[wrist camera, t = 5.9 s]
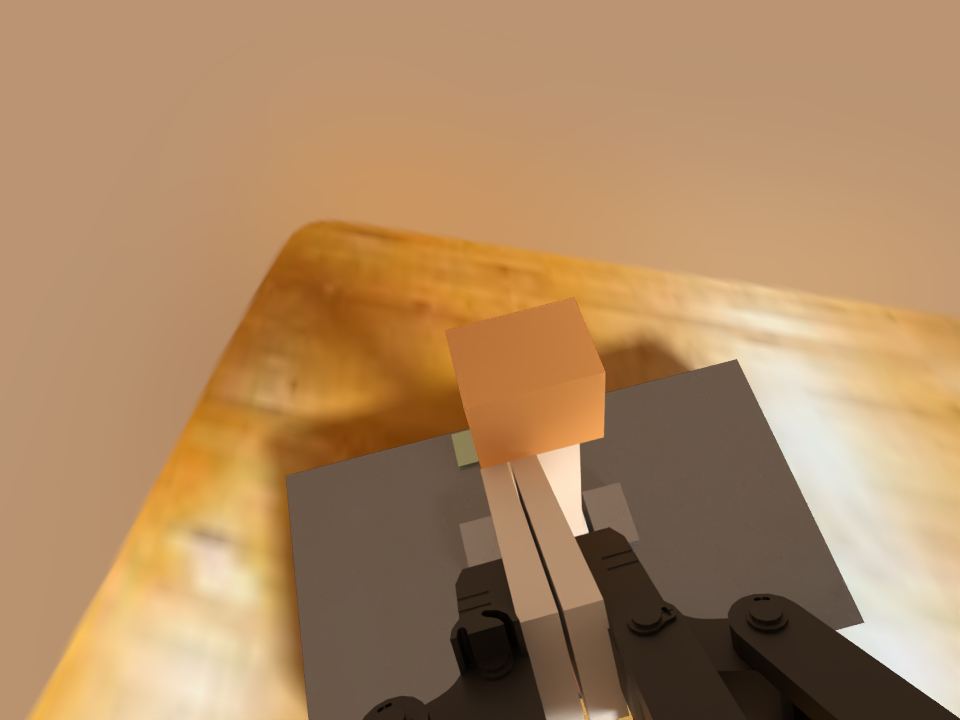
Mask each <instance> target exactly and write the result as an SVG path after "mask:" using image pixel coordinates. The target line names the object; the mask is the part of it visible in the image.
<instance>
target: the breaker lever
mask: <svg viewBox="0 0 960 720" xmlns="http://www.w3.org/2000/svg"><path fill="white" fill-rule="evenodd" d="M445 332H446V336H447V341H448V345H449V349H450V353H451V357H452V362H453V366H454V370H455V374H456V378H457V383H458V387H459V391H460V395H461V399H462V404H463V408H464V411H465V415H466V418H467V422H468V425H469V429H470V432H471V435H472V439H473V442H474V446H475V449H476V453H477V456H478V459H479V463H480V466H481V469H484V468H487V467H491V466H495V465H498V464H502V463H506V462H507V465H508V468H509V471H510V474H511V477H512V480H513V483H514V485H515V488H516V484H515V480H514V476H513V472H512V468H511V464H510V461H513V460H517V459H521V458H524V457H528V456H532V455H535V454H536V455H537V458H538V460H539V462H540V464H541V466H542V468H543V471H544V473H545V475H546V477H547V479H548V481H549V483H550V486H551V488H552V490H553V492H554V494H555V496H556V498H557V501H558V503H559V505H560V507H561V509H562V511H563V514H564V516H565V518H566V520H567V522H568V524H569V526H570V529H571V531H572V533H573V535H574V537H575V536H579V535H583V534H586V533H589V532H588V528H587V525H586V521H585V518H584V515H583V512H582V504H581V472H580V443H584V442H588V441H591V440H595V439H599V438H603V437H604V412H605V376H606V372H605V369H604V367H603V365H602V362H601V360H600V358H599V355H598V353H597V350H596V348H595V346H594V343H593V341H592V338H591V336H590V334H589V331H588V329H587V327H586V324H585V322H584V319H583V317H582V315H581V312H580V310H579V308H578V305H577V303H576V300H575V298H570V299H566V300H562V301H558V302H554V303H550V304H546V305H542V306H539V307H535V308H531V309H527V310H523V311H519V312H515V313H511V314H507V315H503V316H499V317H495V318H491V319H488V320H484V321H480V322H476V323H472V324H468V325H464V326H460V327H456V328H452V329H448V330H445ZM516 491H517V488H516ZM517 494H518V492H517ZM518 497H519V496H518Z"/></svg>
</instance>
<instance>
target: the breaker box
mask: <svg viewBox="0 0 960 720" xmlns="http://www.w3.org/2000/svg"><path fill="white" fill-rule="evenodd" d="M480 469H481V466H480V463H479V459H478V456H477V453H476V449H475V446H474V442H473V439H472V435H471V432H470V429H465V430H461V431H457V432H453V433H449V434H446V435H442V436H438V437H434V438H430V439H426V440H422V441H418V442H415V443H411V444H407V445H403V446H399V447H395V448H391V449H387V450H384V451H380V452H376V453H372V454H368V455H364V456H360V457H356V458H353V459H349V460H345V461H341V462H337V463H333V464H329V465H326V466H322V467H318V468H314V469H310V470H306V471H302V472H298V473H295V474H291V475H287V476H286V484H287V495H288V506H289V516H290V527H291V538H292V548H293V559H294V570H295V580H296V591H297V601H298V612H299V623H300V633H301V644H302V655H303V665H304V676H305V686H306V697H307V708H308V718H309V720H363V718H364V716H365V715H366V714H367V713H368V712H369V711H370V710H371V709H373V708H374V707H375V706H376V705H378V704H380V703H382V702H383V701H385V700H387V699H390V698H394V697H398V696H412V697H415V698H417V699H418V700H420V701H422V702H423V703H424V705H425V704H427V703H429V702H430V701H432V700H434V699H435V698H437V697H439V696H440V695H442V694H443V693H445V692H446V691H447V690H448V689H449V688H450V687H451V686H452V685H453V684H454V683H455V682H456V680H457V679H458V677H459V676H460V671H459V667H458V664H457V661H456V658H455V654H454V651H453V648H452V645H451V641H450V636H451V630H452V628H453V627H454V625H455V624H456V623H457V621H458V620H459V613H458V605H457V596H456V588H455V584H456V582H457V579H458V577H459V575H460V573H461V571H462V569H465V568H468V567H472V566H476V565H479V564H483V563H487V562H490V561H494V560H497V559H501V558H502V556H501V552H500V548H499V544H498V539H497V535H496V531H495V527H494V523H493V519H492V515H491V511H490V507H489V503H488V499H487V495H486V491H485V487H484V483H483V479H482V475H481V470H480ZM580 472H581V504H582V512H583V515H584V518H585V521H586V525H587V528H588V532H589V533H590V532H593V531H597V530H601V529H604V528H608V527H610V528H612V529H613V530H615V531H617V532H618V533H620V534H622V535H624V536H625V538H626V539H627V541H628V543H629V544H630V546H631V547H632V549H633V552H635V554H636V556H637V557H638V559H639V562H641V564H642V566H643V567H644V569H645V571H646V572H647V574H648V575H649V577H650V579H651V580H652V582H653V584H654V585H655V587H656V589H657V590H658V592H659V594H660V595H661V597H662V599H663V600H664V601H665V602H668V603H670V604H672V605H674V606H675V607H676V608H677V609H678V610H679V611H680V612H681V613H682V615H685V616H688V617H693V618H700V619H721V618H728V612H729V610H730V608H731V605H732V604H734V603H735V602H736V601H738V600H739V599H740V598H742V597H745V596H749V595H752V594H767V593H769V594H773V595H778V596H783V597H785V598H787V599H789V600H791V601H793V602H795V603H797V604H798V605H800V606H801V607H802V608H804V609H805V610H807V611H808V612H809V613H811V614H812V615H814V616H815V617H817V618H818V619H819V620H821V621H822V622H824V623H825V624H827V625H828V626H829V627H831V628H832V629H834V630H838V629H842V628H846V627H850V626H853V625H857V624H861V623H864V621H863V619H862V617H861V615H860V612H859V610H858V608H857V606H856V604H855V602H854V600H853V598H852V596H851V594H850V592H849V590H848V588H847V586H846V584H845V581H844V579H843V577H842V575H841V573H840V571H839V569H838V567H837V565H836V563H835V561H834V559H833V557H832V555H831V553H830V551H829V548H828V546H827V544H826V542H825V540H824V538H823V536H822V534H821V532H820V530H819V528H818V526H817V524H816V522H815V520H814V517H813V515H812V513H811V511H810V509H809V507H808V505H807V503H806V501H805V499H804V497H803V495H802V493H801V491H800V489H799V487H798V484H797V482H796V480H795V478H794V476H793V474H792V472H791V470H790V468H789V466H788V464H787V462H786V460H785V458H784V456H783V453H782V451H781V449H780V447H779V445H778V443H777V441H776V439H775V437H774V435H773V433H772V431H771V429H770V427H769V425H768V423H767V420H766V418H765V416H764V414H763V412H762V410H761V408H760V406H759V404H758V402H757V400H756V398H755V396H754V394H753V392H752V389H751V387H750V385H749V383H748V381H747V379H746V377H745V375H744V373H743V371H742V369H741V367H740V365H739V363H738V361H737V359H736V360H732V361H728V362H724V363H720V364H717V365H713V366H709V367H705V368H701V369H697V370H693V371H689V372H686V373H682V374H678V375H674V376H670V377H666V378H662V379H658V380H655V381H651V382H647V383H643V384H639V385H635V386H631V387H627V388H624V389H620V390H616V391H612V392H608V393H605V412H604V437H603V438H599V439H595V440H591V441H588V442H584V443H580ZM572 670H573V669H572ZM573 674H574V672H573ZM574 678H575V675H574ZM575 682H576V686H577V690H578V694H579V698H582V696H581V693H580V690H579V687H578V684H577V681H576V678H575Z"/></svg>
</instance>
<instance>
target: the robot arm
mask: <svg viewBox="0 0 960 720" xmlns="http://www.w3.org/2000/svg"><path fill="white" fill-rule="evenodd" d="M510 464H511V468H512V472H513V476H514V480H515V484H516V488H517V491H516V488H515V485H514V483H513V480H512V477H511V474H510V471H509V468H508V465H507V462H506V463H502V464H498V465H495V466H491V467H487V468H484V469H480V470H481V475H482V479H483V483H484V487H485V491H486V495H487V499H488V503H489V507H490V511H491V515H492V519H493V523H494V527H495V531H496V535H497V539H498V544H499V548H500V552H501V556H502V558H501V559H497V560H494V561H490V562H487V563H483V564H479V565H476V566H472V567H468V568H465V569H462V571H461V573H460V575H459V577H458V579H457V582H456V584H455V588H456V596H457V605H458V613H459V620H458V621H457V623H456V624H455V625H454V627H453V628H452V630H451V636H450V641H451V645H452V648H453V651H454V654H455V658H456V661H457V664H458V667H459V671H460V676H459V677H458V679H457V680H456V682H455V683H454V684H453V685H452V686H451V687H450V688H449V689H448V690H447V691H446V692H445V693H443V694H442V695H440V696H439V697H437V698H435V699H434V700H432V701H430V702H429V703H427V704H425V705H424V703H423V702H422V701H420V700H418V699H417V698H415V697H412V696H398V697H394V698H390V699H387V700H385V701H383V702H382V703H380V704H378V705H376V706H375V707H374V708H373V709H371V710H370V711H369V712H368V713H367V714H366V715H365V716H364V718H363V720H585V719H584V715H583V710H582V706H581V702H580V698H579V694H578V690H577V686H576V682H575V678H576V681H577V684H578V687H579V690H580V693H581V696H582V699H583V702H584V705H585V708H586V711H587V714H588V717H589V720H615V719H619V718H622V717H626V716H629V713H628V708H627V705H628V707H629V710H630V712H631V714H632V717H633V720H960V718H958V717H957V716H956V715H954V714H953V713H951V712H950V711H949V710H947V709H946V708H944V707H943V706H941V705H940V704H939V703H937V702H936V701H934V700H933V699H932V698H930V697H929V696H927V695H926V694H924V693H923V692H922V691H920V690H919V689H917V688H916V687H914V686H913V685H912V684H910V683H909V682H907V681H906V680H905V679H903V678H902V677H900V676H899V675H897V674H896V673H895V672H893V671H892V670H890V669H889V668H888V667H886V666H885V665H883V664H882V663H880V662H879V661H878V660H876V659H875V658H873V657H872V656H870V655H869V654H868V653H866V652H865V651H863V650H862V649H861V648H859V647H858V646H856V645H855V644H853V643H852V642H851V641H849V640H848V639H846V638H845V637H844V636H842V635H841V634H839V633H838V632H836V631H835V630H834V629H832V628H831V627H829V626H828V625H827V624H825V623H824V622H822V621H821V620H819V619H818V618H817V617H815V616H814V615H812V614H811V613H809V612H808V611H807V610H805V609H804V608H802V607H801V606H800V605H798V604H797V603H795V602H793V601H791V600H789V599H787V598H785V597H783V596H778V595H773V594H769V593H767V594H752V595H749V596H745V597H742V598H740V599H739V600H738V601H736V602H735V603H734V604H732V605H731V608H730V610H729V612H728V618H721V619H700V618H693V617H688V616H685V615H682V613H681V612H680V611H679V610H678V609H677V608H676V607H675V606H674V605H672V604H670V603H668V602H665V601H664V600H663V599H662V597H661V595H660V594H659V592H658V590H657V589H656V587H655V585H654V584H653V582H652V580H651V579H650V577H649V575H648V574H647V572H646V571H645V569H644V567H643V566H642V564H641V562H639V559H638V557H637V556H636V554H635V552H633V549H632V547H631V546H630V544H629V543H628V541H627V539H626V538H625V536H624V535H622V534H620V533H618V532H617V531H615V530H613V529H612V528H610V527H608V528H604V529H601V530H597V531H593V532H590V533H586V534H583V535H579V536H575V537H574V535H573V533H572V531H571V529H570V526H569V524H568V522H567V520H566V518H565V516H564V514H563V511H562V509H561V507H560V505H559V503H558V501H557V498H556V496H555V494H554V492H553V490H552V488H551V486H550V483H549V481H548V479H547V477H546V475H545V473H544V471H543V468H542V466H541V464H540V462H539V460H538V458H537V455H536V454H535V455H532V456H528V457H524V458H521V459H517V460H513V461H510ZM517 492H518V494H517ZM518 496H519V497H518ZM572 669H573V670H572ZM573 672H574V674H573ZM574 675H575V678H574ZM626 702H627V704H626Z"/></svg>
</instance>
